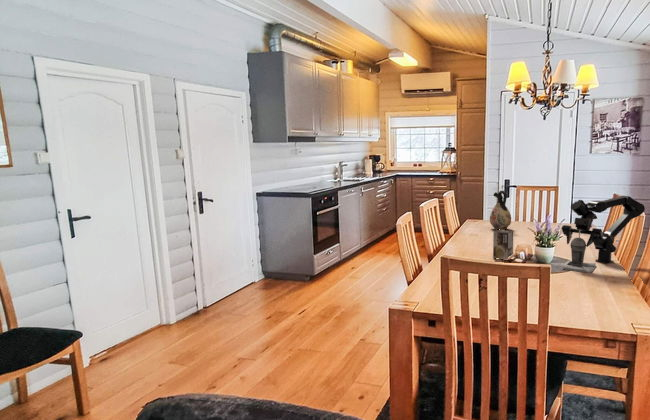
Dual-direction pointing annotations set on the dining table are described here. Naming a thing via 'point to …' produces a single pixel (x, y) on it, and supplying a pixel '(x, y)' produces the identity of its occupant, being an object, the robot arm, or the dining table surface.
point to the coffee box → (502, 244)
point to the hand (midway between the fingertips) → (577, 245)
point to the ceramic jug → (500, 212)
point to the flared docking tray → (578, 267)
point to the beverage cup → (578, 251)
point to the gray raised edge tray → (584, 267)
